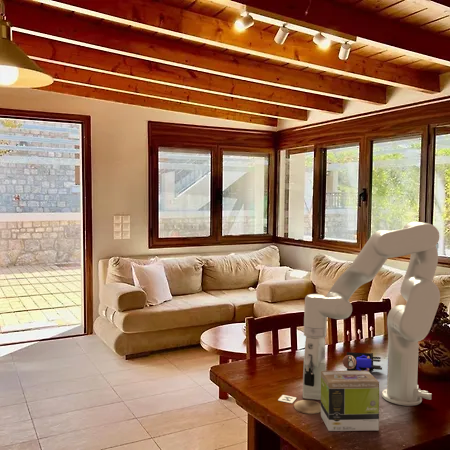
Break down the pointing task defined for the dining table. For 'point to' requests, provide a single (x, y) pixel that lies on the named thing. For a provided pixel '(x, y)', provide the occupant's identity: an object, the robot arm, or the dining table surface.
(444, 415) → the dining table surface
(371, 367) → the character figurine
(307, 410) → the cork coaster
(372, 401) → the tea box
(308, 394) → the supplement box
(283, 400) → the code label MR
